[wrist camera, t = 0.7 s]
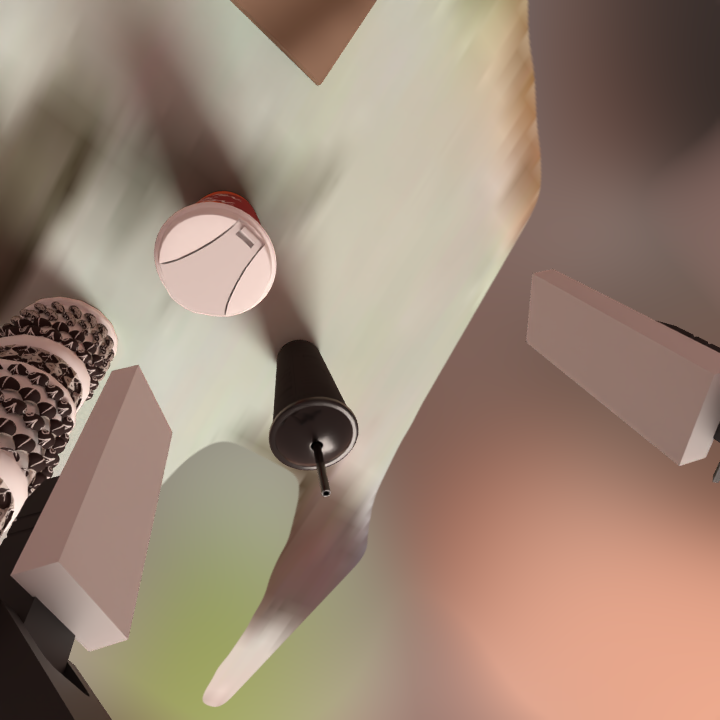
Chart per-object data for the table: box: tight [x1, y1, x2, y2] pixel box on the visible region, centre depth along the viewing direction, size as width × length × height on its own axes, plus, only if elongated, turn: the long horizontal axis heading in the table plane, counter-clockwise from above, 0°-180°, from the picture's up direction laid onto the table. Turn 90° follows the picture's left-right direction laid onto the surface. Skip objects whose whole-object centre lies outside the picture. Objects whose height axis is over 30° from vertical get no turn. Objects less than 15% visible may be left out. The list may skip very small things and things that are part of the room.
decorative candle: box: [0, 297, 118, 537], centre depth 30 cm, size 9×9×25 cm
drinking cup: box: [269, 340, 358, 497], centre depth 39 cm, size 8×8×20 cm
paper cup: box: [154, 191, 276, 317], centre depth 33 cm, size 8×8×14 cm
